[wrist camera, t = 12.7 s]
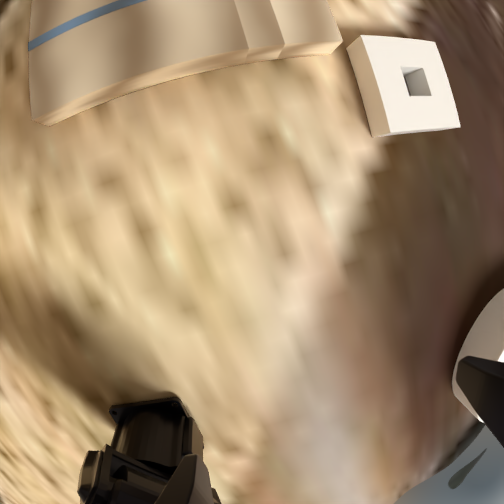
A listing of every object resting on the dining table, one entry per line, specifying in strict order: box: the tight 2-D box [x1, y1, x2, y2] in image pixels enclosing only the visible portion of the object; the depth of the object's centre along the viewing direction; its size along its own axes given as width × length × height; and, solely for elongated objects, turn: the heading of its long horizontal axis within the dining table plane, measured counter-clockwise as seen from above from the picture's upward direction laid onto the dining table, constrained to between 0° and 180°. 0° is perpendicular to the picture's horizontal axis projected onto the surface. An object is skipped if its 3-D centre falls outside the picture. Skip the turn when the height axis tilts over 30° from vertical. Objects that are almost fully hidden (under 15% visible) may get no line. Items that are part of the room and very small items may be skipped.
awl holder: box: [346, 35, 460, 137], centre depth 17 cm, size 7×7×2 cm
